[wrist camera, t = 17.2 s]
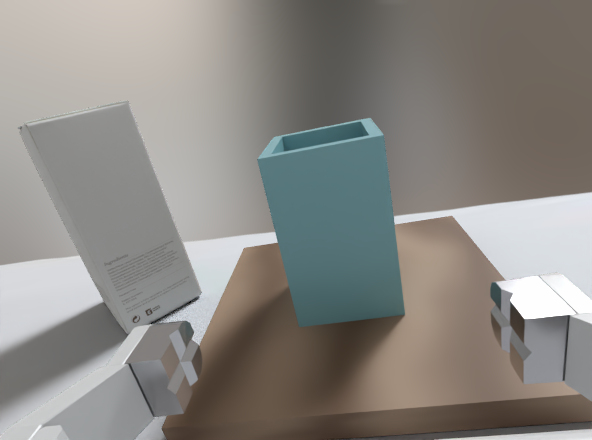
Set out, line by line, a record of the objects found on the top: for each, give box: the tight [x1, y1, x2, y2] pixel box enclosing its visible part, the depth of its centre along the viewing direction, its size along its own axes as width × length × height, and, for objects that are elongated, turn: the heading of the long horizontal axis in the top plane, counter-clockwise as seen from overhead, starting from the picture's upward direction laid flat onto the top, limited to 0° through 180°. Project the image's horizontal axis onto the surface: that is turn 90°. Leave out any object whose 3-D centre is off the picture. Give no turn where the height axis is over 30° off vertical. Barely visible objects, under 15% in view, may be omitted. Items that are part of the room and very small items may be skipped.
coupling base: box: [162, 216, 592, 440], centre depth 23 cm, size 18×18×10 cm
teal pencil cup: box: [257, 118, 405, 327], centre depth 22 cm, size 6×6×10 cm
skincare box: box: [18, 101, 202, 334], centre depth 29 cm, size 8×7×16 cm
